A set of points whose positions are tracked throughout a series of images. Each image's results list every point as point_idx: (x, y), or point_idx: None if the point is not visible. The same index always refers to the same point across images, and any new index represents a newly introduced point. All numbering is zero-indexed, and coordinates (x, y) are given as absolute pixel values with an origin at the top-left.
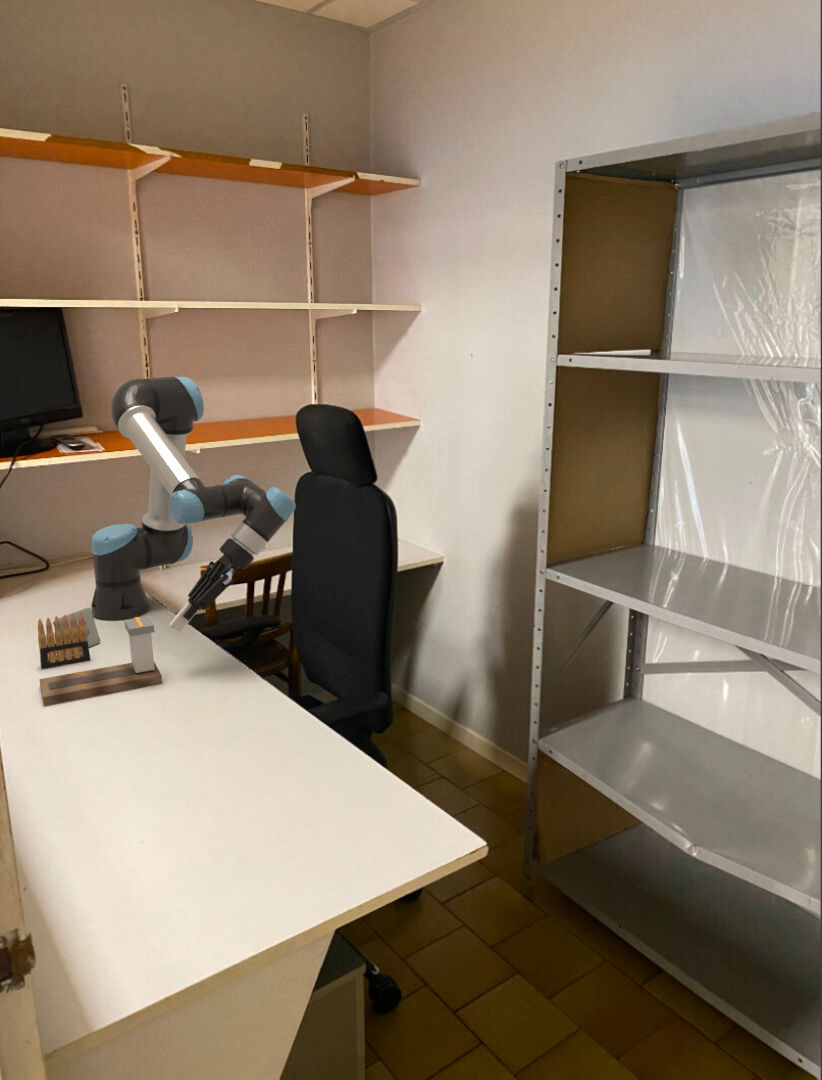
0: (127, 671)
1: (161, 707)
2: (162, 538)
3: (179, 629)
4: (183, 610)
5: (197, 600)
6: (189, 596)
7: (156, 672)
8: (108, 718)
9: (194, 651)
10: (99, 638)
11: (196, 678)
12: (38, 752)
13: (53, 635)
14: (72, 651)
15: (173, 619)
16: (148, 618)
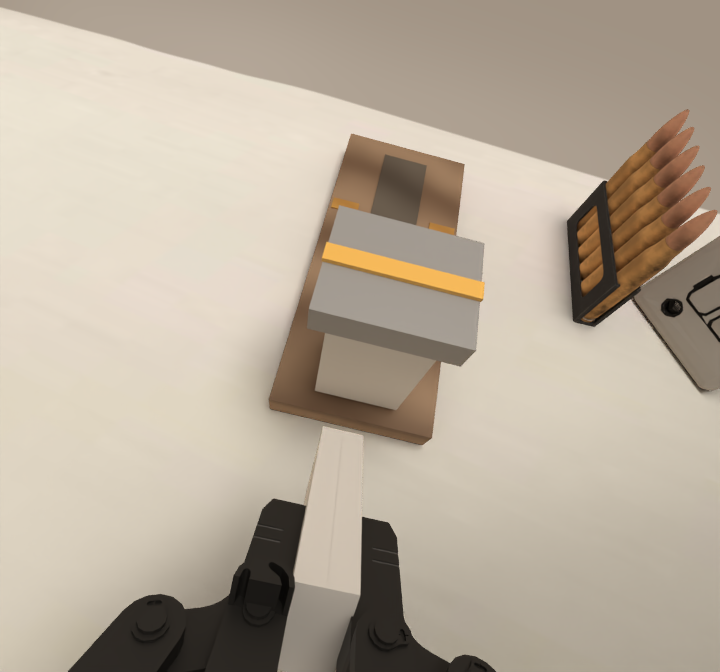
0: None
1: (103, 330)
2: None
3: (308, 485)
4: (308, 513)
5: (157, 646)
6: (450, 663)
7: (302, 395)
8: (166, 210)
9: (486, 661)
10: (717, 387)
11: (217, 531)
12: (136, 76)
13: (637, 186)
14: (642, 297)
15: (352, 455)
16: (438, 334)
